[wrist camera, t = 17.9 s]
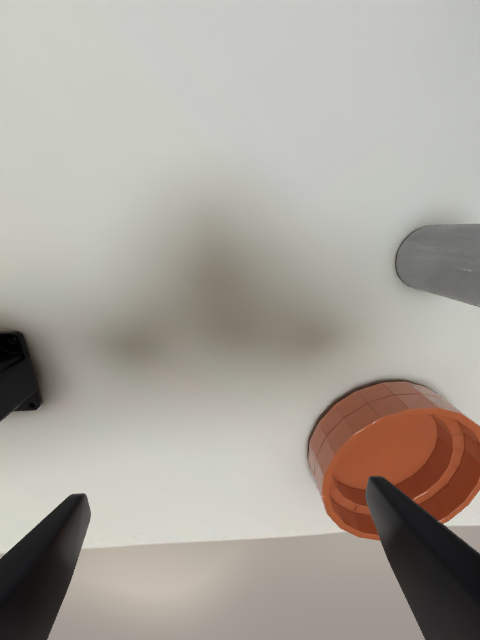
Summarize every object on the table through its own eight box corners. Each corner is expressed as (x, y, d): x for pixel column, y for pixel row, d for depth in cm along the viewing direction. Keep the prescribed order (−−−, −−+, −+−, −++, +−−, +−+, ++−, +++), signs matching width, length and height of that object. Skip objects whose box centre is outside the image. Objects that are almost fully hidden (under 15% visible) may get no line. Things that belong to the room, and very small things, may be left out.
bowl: (302, 501, 27) (315, 546, 23) (312, 382, 23) (330, 412, 19) (432, 492, 28) (466, 534, 24) (466, 376, 23) (513, 403, 20)
